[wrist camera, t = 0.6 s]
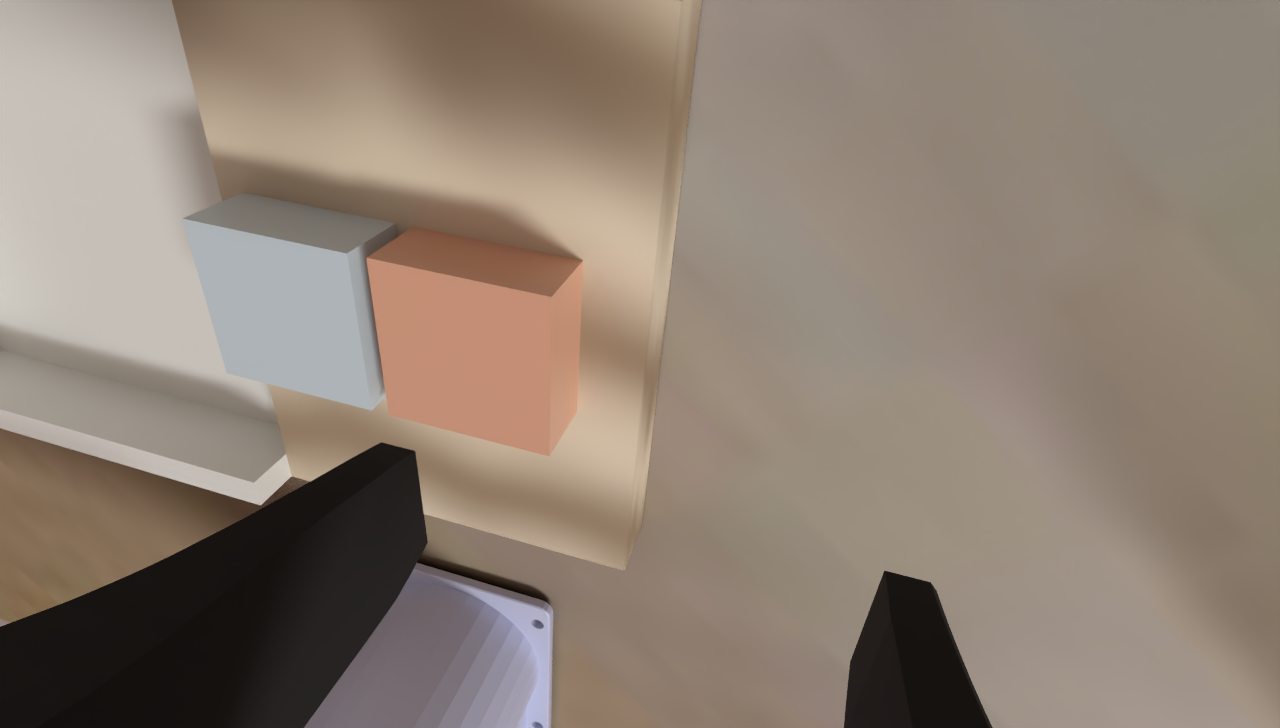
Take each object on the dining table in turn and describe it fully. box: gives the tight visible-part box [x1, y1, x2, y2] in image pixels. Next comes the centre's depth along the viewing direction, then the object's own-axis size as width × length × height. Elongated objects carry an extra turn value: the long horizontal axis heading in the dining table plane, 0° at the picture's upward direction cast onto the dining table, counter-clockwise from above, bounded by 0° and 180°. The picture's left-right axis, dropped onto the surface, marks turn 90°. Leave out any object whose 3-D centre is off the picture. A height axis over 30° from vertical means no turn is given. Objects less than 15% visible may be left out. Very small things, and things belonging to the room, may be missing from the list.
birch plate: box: [172, 0, 702, 571], centre depth 20 cm, size 16×12×2 cm
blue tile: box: [182, 193, 397, 411], centre depth 19 cm, size 4×4×2 cm
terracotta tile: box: [366, 227, 583, 456], centre depth 18 cm, size 4×4×2 cm
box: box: [0, 0, 291, 505], centre depth 22 cm, size 16×15×4 cm
